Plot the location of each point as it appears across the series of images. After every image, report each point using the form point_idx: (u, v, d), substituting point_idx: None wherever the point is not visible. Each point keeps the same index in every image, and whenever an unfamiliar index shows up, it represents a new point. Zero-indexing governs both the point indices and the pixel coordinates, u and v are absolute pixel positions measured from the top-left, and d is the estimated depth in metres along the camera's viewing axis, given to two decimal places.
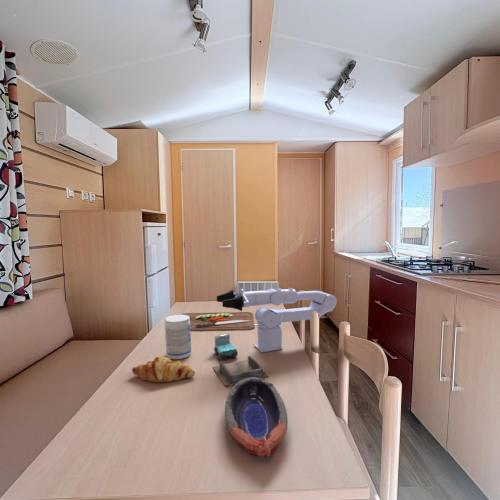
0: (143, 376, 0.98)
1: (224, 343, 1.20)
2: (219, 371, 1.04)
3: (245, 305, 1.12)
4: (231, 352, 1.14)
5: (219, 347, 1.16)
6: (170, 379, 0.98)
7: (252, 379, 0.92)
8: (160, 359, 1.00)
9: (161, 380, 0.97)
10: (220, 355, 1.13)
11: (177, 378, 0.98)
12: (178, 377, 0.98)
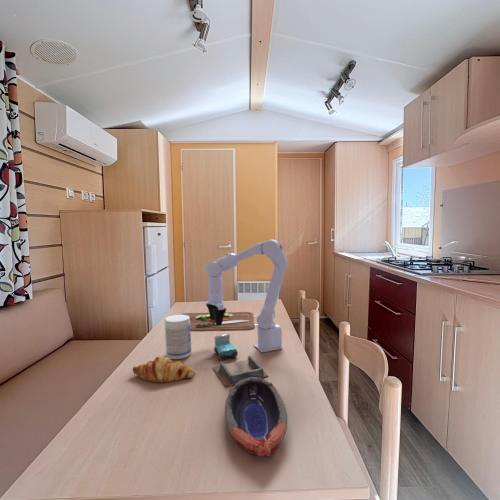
0: (143, 376, 0.99)
1: (224, 343, 1.20)
2: (219, 371, 1.04)
3: (221, 308, 1.21)
4: (231, 352, 1.14)
5: (219, 347, 1.16)
6: (170, 379, 0.98)
7: (252, 379, 0.92)
8: (160, 359, 1.00)
9: (161, 380, 0.97)
10: (220, 355, 1.13)
11: (177, 378, 0.99)
12: (178, 377, 0.98)
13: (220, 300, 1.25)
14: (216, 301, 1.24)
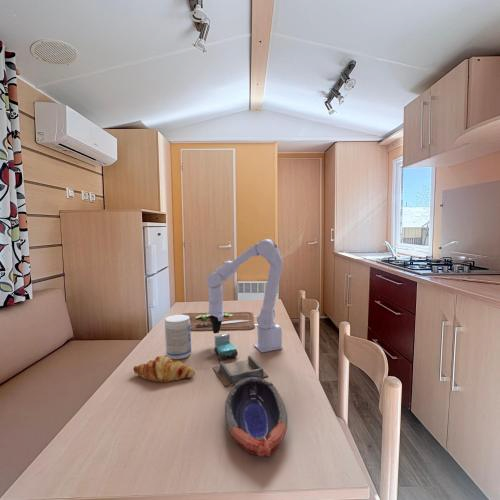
0: (144, 375, 0.99)
1: (224, 343, 1.20)
2: (219, 371, 1.04)
3: (221, 319, 1.21)
4: (231, 352, 1.14)
5: (219, 347, 1.16)
6: (170, 379, 0.98)
7: (252, 379, 0.92)
8: (161, 359, 1.01)
9: (161, 380, 0.97)
10: (220, 355, 1.13)
11: (177, 378, 0.99)
12: (178, 377, 0.99)
13: (220, 311, 1.25)
14: (216, 312, 1.24)
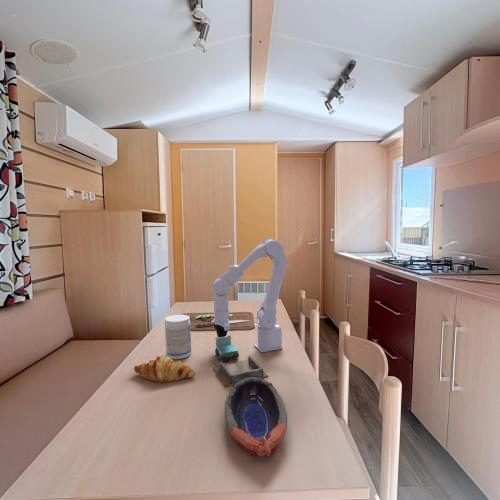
0: (144, 375, 0.99)
1: (225, 344, 1.19)
2: (219, 371, 1.04)
3: (228, 329, 1.14)
4: (232, 354, 1.13)
5: (220, 348, 1.15)
6: (170, 379, 0.98)
7: (252, 379, 0.92)
8: (161, 358, 1.01)
9: (161, 379, 0.97)
10: (221, 357, 1.11)
11: (177, 378, 0.99)
12: (178, 377, 0.99)
13: (226, 319, 1.19)
14: (222, 321, 1.18)
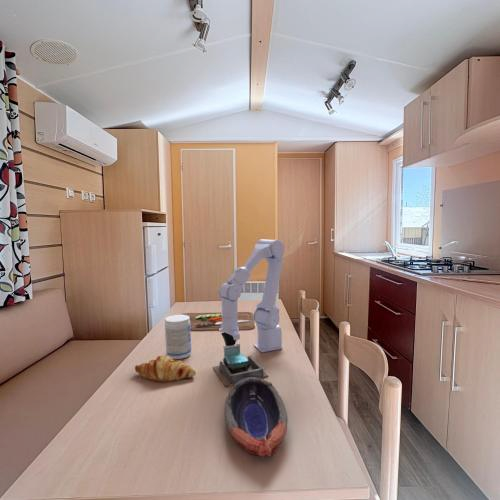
0: (145, 374, 0.99)
1: (234, 354, 1.09)
2: (219, 371, 1.04)
3: (237, 338, 1.05)
4: (242, 364, 1.03)
5: (229, 358, 1.06)
6: (171, 378, 0.98)
7: (251, 379, 0.91)
8: (162, 358, 1.01)
9: (162, 379, 0.97)
10: (230, 368, 1.02)
11: (178, 378, 0.99)
12: (179, 377, 0.99)
13: (235, 327, 1.09)
14: (231, 329, 1.09)
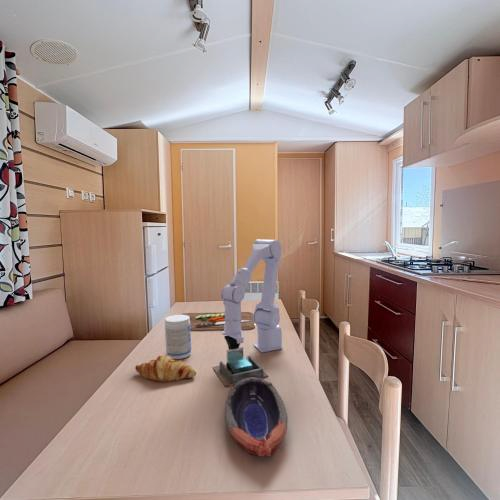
0: (145, 374, 1.00)
1: (237, 358, 1.06)
2: (219, 371, 1.04)
3: (241, 342, 1.02)
4: (246, 369, 1.00)
5: (232, 363, 1.02)
6: (171, 378, 0.98)
7: (251, 379, 0.91)
8: (162, 358, 1.01)
9: (162, 379, 0.97)
10: (234, 372, 0.99)
11: (178, 378, 0.99)
12: (179, 377, 0.99)
13: (239, 331, 1.06)
14: (234, 332, 1.06)
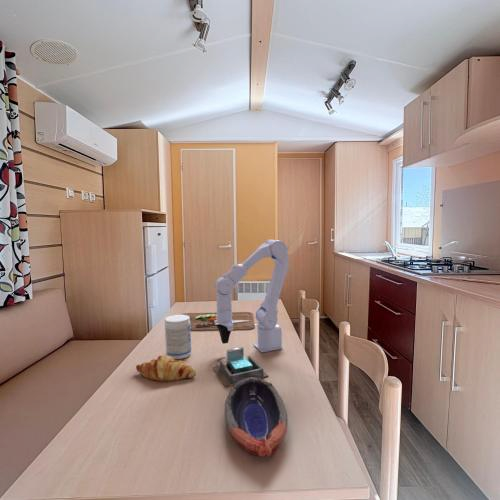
0: (145, 374, 1.00)
1: (237, 358, 1.06)
2: (219, 371, 1.04)
3: (231, 329, 1.12)
4: (246, 369, 1.00)
5: (232, 363, 1.02)
6: (171, 378, 0.98)
7: (251, 379, 0.91)
8: (162, 358, 1.01)
9: (162, 379, 0.98)
10: (234, 372, 0.99)
11: (178, 378, 0.99)
12: (179, 377, 0.99)
13: (229, 319, 1.16)
14: (225, 321, 1.15)
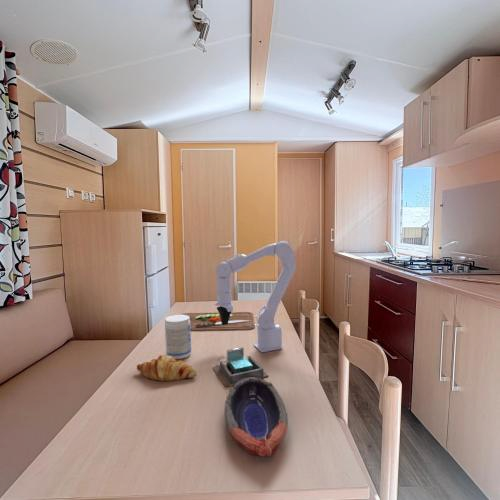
0: (146, 373, 1.00)
1: (237, 358, 1.06)
2: (219, 371, 1.04)
3: (231, 310, 1.18)
4: (246, 369, 1.00)
5: (232, 363, 1.02)
6: (171, 378, 0.98)
7: (251, 379, 0.91)
8: (163, 358, 1.01)
9: (162, 379, 0.98)
10: (234, 372, 0.99)
11: (178, 377, 0.99)
12: (179, 377, 0.99)
13: (229, 302, 1.22)
14: (225, 303, 1.21)
